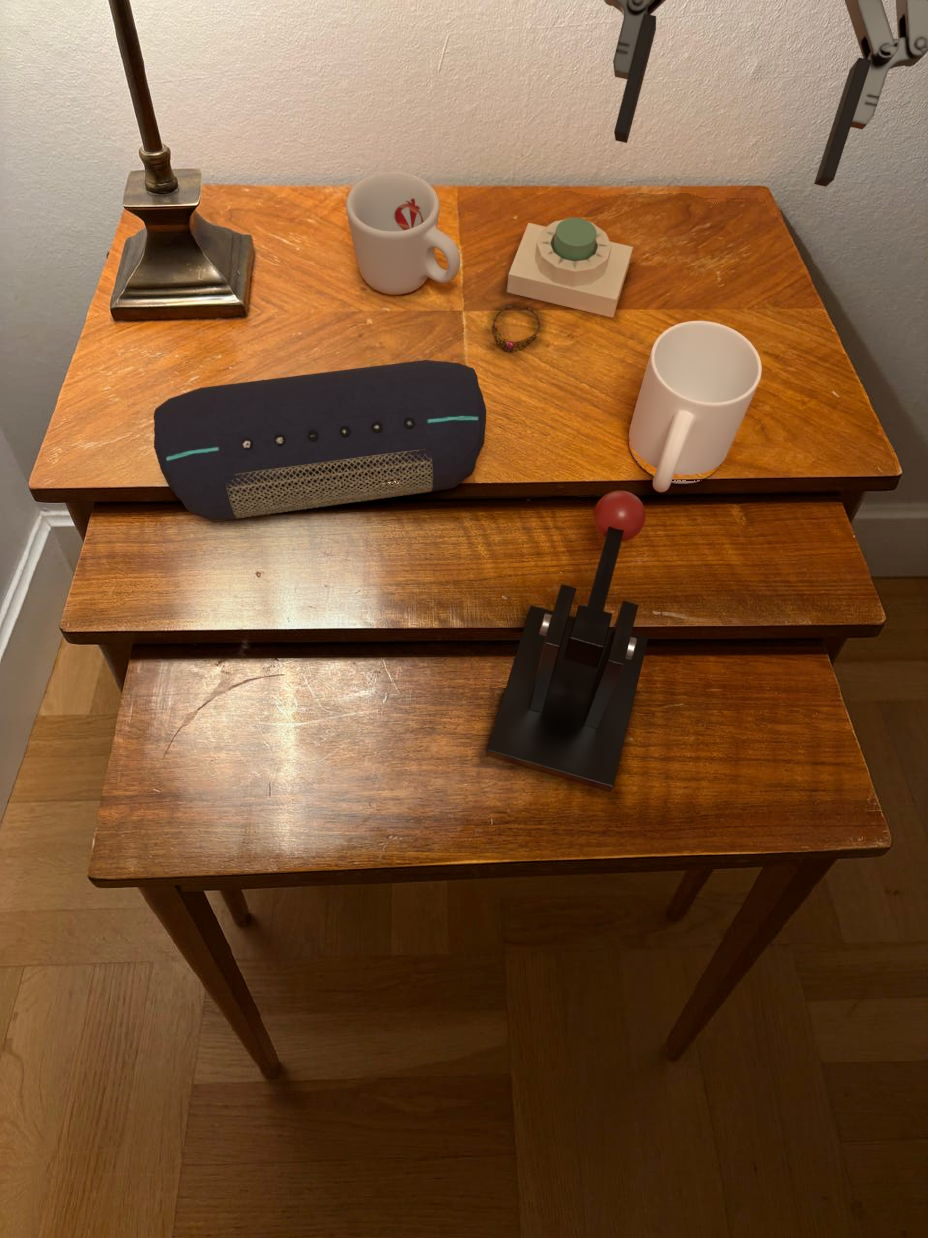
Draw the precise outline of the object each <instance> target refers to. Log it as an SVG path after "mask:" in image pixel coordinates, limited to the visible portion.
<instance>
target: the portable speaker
mask: <svg viewBox="0 0 928 1238" xmlns="http://www.w3.org/2000/svg"><path fill="white" fill-rule="evenodd" d="M153 423H154V427H153V433H154V436H153V448H154V452H155V455H156V459H157V461H158V466H159V467H160V471H161V473H162V475H163V478H164V480H165V482H166V483H167V486H168V487H169V489H170V490H171V491H172V492H173V493H174V494H175V496H176V497H177V498H178V499H179V500H181V502H182V504H183V506H184V507H185V509H186V510H187V511H188V513H190V514H193V515H195V516H198V517H201V518H203V519H207V520H208V521H212V522H218V521H229V520H234V519H235V520H236V519H244V518H251V517H257V516H264V515H271V514H281V513H287V512H294V511H300V510H301V511H302V510H308V509H316V508H317V509H318V508H324V507H331V506H337V505H343V504H353V503H360V502H366V501H367V502H368V501H374V500H379V499H388V498H396V497H403V496H409V495H417V494H423V493H424V494H425V493H431V492H437V491H444V490H450V489H454V488H456V487H457V486H458V485H460V484H462V483H463V482H464V481H465V480H467V479H468V478H469V477H470V476H472V475H473V473H474V471H475V469H476V466H477V465H476V464H477V460H478V458H479V456H480V454H481V451H482V450H483V447H484V445H485V439H486V438H485V437H486V425H487V407H486V403H485V399H484V395H483V392H482V390H481V387H480V385H479V377H478V374H477V372H476V370H475V368H474V367H470V366H468V365H465V364H462V363H460V362H451V361H442V360H432V359H421V360H414V361H412V360H411V361H404V362H397V363H389V364H383V365H374V366H373V365H372V366H366V367H364V366H363V367H356V368H350V369H342V370H340V369H339V370H333V371H325V372H317V373H309V374H301V375H292V376H284V377H278V378H277V377H276V378H267V379H260V380H259V379H258V380H253V381H252V380H251V381H243V382H237V383H228V384H220V385H211V386H204V387H199V388H196V389H193V390H190V391H187V392H184V393H181V394H178V395H176V396H172V397H170V398H167V399H166V400H165V401H164V402H162V403H161V404H160V405H159V406H157V407H156V408H155V409H154V412H153ZM394 481H396V483H395V482H394ZM388 482H391V483H390V484H389V483H388ZM398 482H399V484H397V483H398ZM382 483H385V484H382ZM392 483H393V485H391V484H392ZM376 484H378V485H376ZM386 484H387V485H386ZM401 484H402V485H401ZM370 485H372V486H370ZM373 486H374V487H373ZM367 487H368V488H367ZM360 488H362V489H360Z"/></svg>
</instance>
